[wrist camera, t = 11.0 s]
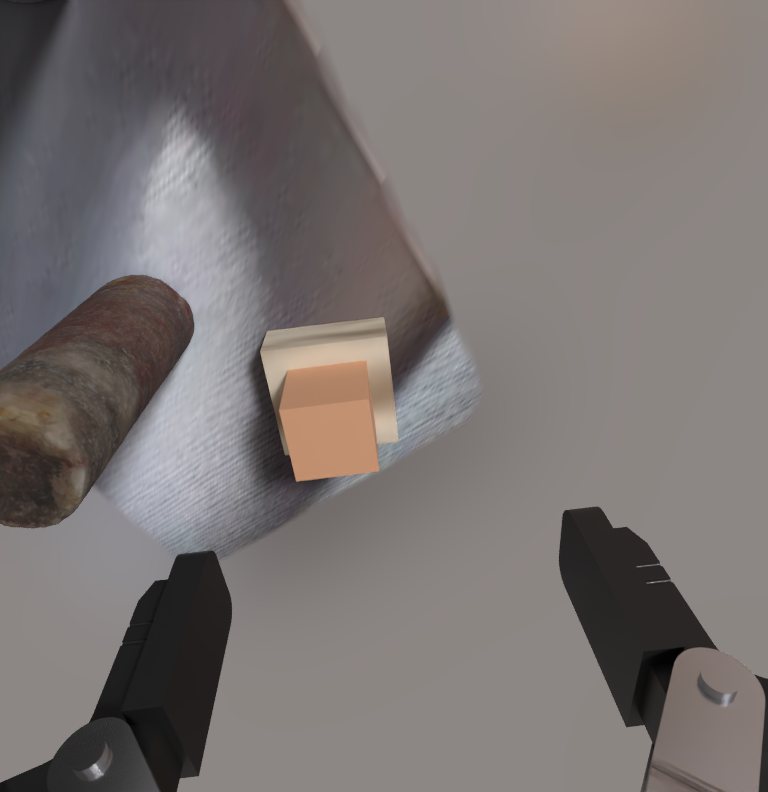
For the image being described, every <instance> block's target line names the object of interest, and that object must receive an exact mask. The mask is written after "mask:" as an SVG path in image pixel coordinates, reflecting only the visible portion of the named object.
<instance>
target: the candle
mask: <svg viewBox="0 0 768 792" xmlns="http://www.w3.org/2000/svg"><path fill="white" fill-rule="evenodd" d="M193 333H194V321H193V314H192V311H191V308H190V306H189V304H188V303H187V302H186V300H185V299H184V298H182V297H181V296H180V295H179V294H178V293H177V292H176V291H175V290H173V289H172V288H171V287H170V286H169V285H167V284H166V283H164V282H163V281H161V280H159V279H155V278H152V277H149V276H146V275H130V276H124V277H121V278H118V279H115V280H113V281H111V282H109V283H107V284H106V285H104V286H103V287H101V288H100V289H99V290H97V291H96V292H95V293H94V294H92V295H91V296H90V297H89V298H88V299H87V300H85V301H84V302H83V303H82V304H80V305H79V306H78V307H77V308H76V309H75V310H73V311H72V312H71V313H69V314H68V315H67V316H66V317H65V318H64V319H63V320H61V321H60V322H59V323H58V324H57V325H55V326H54V327H53V328H52V329H51V330H49V331H48V332H47V333H45V334H44V335H43V336H42V337H41V338H40V339H38V340H37V341H36V342H35V343H34V344H33V345H31V346H30V347H29V348H27V349H26V350H25V351H24V352H22V353H21V354H20V355H19V356H18V357H17V358H16V359H14V360H13V361H12V362H10V363H9V364H8V365H6V366H5V367H4V368H3V369H1V370H0V524H3V525H5V526H10V527H23V528H38V527H47V526H51V525H56V524H58V523H60V522H61V521H62V520H63V519H65V518H66V517H68V516H70V515H71V514H72V513H73V512H74V511H75V510H76V509H77V508H78V506H79V505H80V503H81V502H82V501H83V499H84V498H85V496H86V495H87V493H88V492H89V491H90V489H91V487H92V486H93V484H94V483H95V482H96V480H97V479H98V477H99V476H100V474H101V473H102V471H103V470H104V469H105V467H106V465H107V464H108V462H109V461H110V459H111V458H112V456H113V454H114V453H115V452H116V450H117V449H118V448H119V446H120V445H121V443H122V442H123V440H124V438H125V437H126V435H127V434H128V432H129V431H130V429H131V428H132V426H133V425H134V423H135V422H136V421H137V419H138V418H139V416H140V415H141V413H142V412H143V410H144V409H145V407H146V406H147V404H148V403H149V401H150V400H151V398H152V397H153V395H154V394H155V392H156V391H157V389H158V388H159V387H160V385H161V384H162V382H163V381H164V380H165V378H166V377H167V375H168V374H169V372H170V371H171V370H172V369H173V367H174V365H175V364H176V362H177V361H178V359H179V358H180V356H181V354H182V353H183V351H184V350H185V348H186V347H187V345H188V344H189V342H190V340H191V338H192V335H193Z"/></svg>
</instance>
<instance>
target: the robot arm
mask: <svg viewBox="0 0 768 792" xmlns="http://www.w3.org/2000/svg"><path fill="white" fill-rule="evenodd" d="M9 1H14V2H18V3H36V2H40V1H44V0H9ZM559 566H560V572H561V577H562V580H563V583H564V586H565V588H566V590H567V593H568V595H569V597H570V600H571V602H572V604H573V606H574V609H575V611H576V613H577V616H578V618H579V620H580V622H581V625H582V627H583V629H584V632H585V634H586V636H587V638H588V640H589V643H590V645H591V648H592V650H593V652H594V654H595V657H596V659H597V661H598V664H599V666H600V668H601V670H602V673H603V675H604V677H605V680H606V682H607V684H608V686H609V689H610V691H611V693H612V695H613V698H614V700H615V702H616V705H617V707H618V709H619V711H620V714H621V716H622V718H623V720H624V723H625V725H626V727H631V726H639V725H645V727H646V729H647V731H648V734H649V736H650V738H651V740H652V745H651V750H650V754H649V758H648V762H647V766H646V771H645V775H644V779H643V784H642V788H641V792H768V679H766V678H762V677H759V676H757V675H754V674H753V673H752V672H751V671H750V670H749V669H748V668H747V667H746V666H745V665H744V664H743V663H741V662H740V661H739V660H737V659H735V658H734V657H732V656H730V655H728V654H726V653H724V652H721V651H719V650H718V649H717V648H716V646H715V645H714V644H713V642H712V641H711V639H710V638H709V636H708V635H707V633H706V632H705V630H704V629H703V627H702V626H701V624H700V623H699V621H698V619H697V618H696V616H695V615H694V614H693V612H692V610H691V609H690V607H689V606H688V604H687V603H686V601H685V600H684V598H683V597H682V595H681V594H680V592H679V591H678V589H677V588H676V586H675V585H674V584H673V583H672V582H671V580H670V577H669V576H668V574H667V573H666V571H665V569H664V568H663V567H662V566H660V562H659V560H658V559H657V557H656V556H655V554H654V553H653V551H652V550H651V548H650V547H649V545H648V544H647V542H645V541H644V540H643V539H641V538H640V537H639V536H637V535H636V534H635V533H634V532H632V531H631V530H630V529H629V528H627V527H622V528H614V529H613V527H612V525H611V524H610V522H609V520H608V519H607V517H606V515H605V514H604V512H603V511H602V509H601V508H599V507H589V508H581V509H572V510H565V511H564V513H563V517H562V529H561V540H560V550H559ZM231 619H232V603H231V597H230V593H229V590H228V587H227V585H226V582H225V579H224V576H223V574H222V570H221V568H220V565H219V562H218V559H217V556H216V554H215V552H214V551H212V550H211V551H202V552H194V553H185V554H179V555H178V556H177V557H176V559H175V561H174V564H173V567H172V570H171V572H170V575H169V578H168V579H167V580H159V581H155V582H154V583H153V584H152V585H151V587H150V588H149V589H148V590H147V591H146V593H145V594H144V595H143V596H142V597H141V599H140V600H139V601H138V603H137V606H136V608H135V611H134V613H133V616H132V619H131V621H130V627H128V629H127V631H126V634H125V636H124V639H123V641H122V642H123V645H122V646H120V649H119V651H118V654H117V656H116V659H115V661H114V664H113V666H112V669H111V671H110V674H109V676H108V678H107V681H106V684H105V686H104V689H103V691H102V694H101V696H100V699H99V701H98V704H97V706H96V709H95V711H94V714H93V716H92V718H91V720H90V722H89V723H88V724H86V725H85V726H83V727H81V728H80V729H79V730H77V731H76V732H75V733H73V734H72V735H71V736H70V737H69V738H68V739H67V740H66V741H65V742H64V743H63V745H62V746H61V747H60V748H59V750H58V751H57V753H56V754H55V756H54V758H53V759H52V760H50V761H48V762H46V763H44V764H42V765H40V766H38V767H35V768H33V769H31V770H28V771H26V772H24V773H21V774H19V775H17V776H15V777H12V778H10V779H8V780H5V781H3V782H1V783H0V792H177V788H178V784H179V779H180V778H186V777H194V776H199V772H200V767H201V762H202V758H203V753H204V749H205V743H206V739H207V734H208V730H209V725H210V719H211V715H212V710H213V706H214V701H215V697H216V692H217V687H218V682H219V678H220V673H221V668H222V663H223V659H224V654H225V649H226V644H227V640H228V635H229V630H230V625H231Z"/></svg>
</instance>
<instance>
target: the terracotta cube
mask: <svg viewBox="0 0 768 792" xmlns="http://www.w3.org/2000/svg"><path fill="white" fill-rule="evenodd" d="M279 412H280V416H281V421H282V425H283V429H284V433H285V437H286V441H287V445H288V449H289V454H290V458H291V462H292V466H293V470H294V474H295V478H296V482H297V481H305V480H313V479H321V478H329V477H337V476H345V475H353V474H361V473H369V472H377V471H379V462H378V449H377V437H376V425H375V418H374V411H373V404H372V397H371V390H370V383H369V376H368V369H367V362H366V360H364V361H356V362H348V363H340V364H333V365H325V366H317V367H309V368H301V369H293V370H288V372H287V376H286V381H285V385H284V390H283V395H282V399H281V404H280V408H279Z"/></svg>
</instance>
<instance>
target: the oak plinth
mask: <svg viewBox="0 0 768 792" xmlns="http://www.w3.org/2000/svg"><path fill="white" fill-rule="evenodd" d="M260 353H261V358H262V362H263V366H264V370H265V374H266V378H267V383H268V387H269V391H270V395H271V399H272V403H273V408H274V412H275V416H276V420H277V424H278V429H279V433H280V437H281V441H282V445H283V449H284V454H285V455H290V454H289V449H288V445H287V441H286V437H285V433H284V429H283V425H282V421H281V416H280V412H279V408H280V404H281V399H282V395H283V390H284V385H285V381H286V376H287V372H288V370H293V369H301V368H309V367H317V366H325V365H333V364H340V363H348V362H356V361H364V360H366V362H367V369H368V376H369V383H370V390H371V397H372V404H373V411H374V418H375V425H376V437H377V444H384V443H393V442H399V440H398V431H397V422H396V413H395V404H394V395H393V386H392V377H391V368H390V359H389V350H388V341H387V334H386V327H385V321H384V317H380V318H371V319H363V320H355V321H347V322H338V323H330V324H322V325H313V326H305V327H297V328H288V329H280V330H272V331H267V333H266V336H265V339H264V342H263V345H262V348H261V350H260Z"/></svg>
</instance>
